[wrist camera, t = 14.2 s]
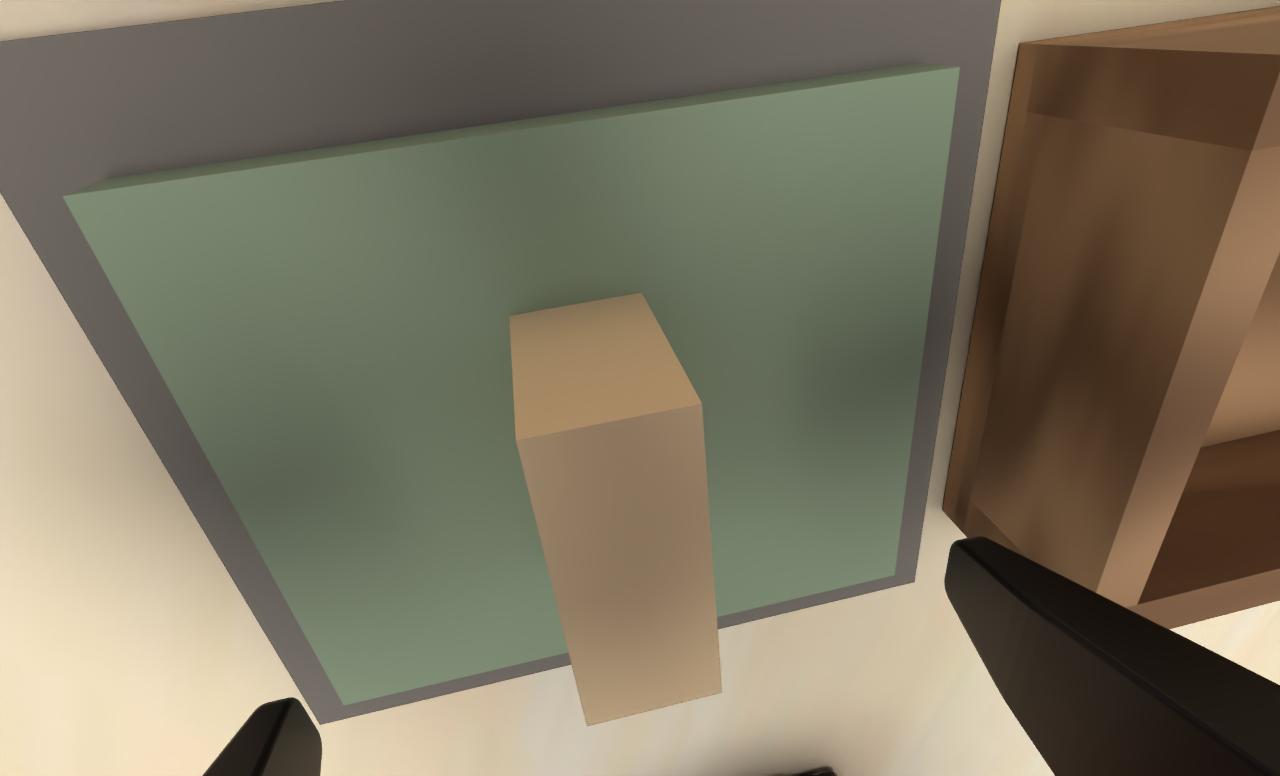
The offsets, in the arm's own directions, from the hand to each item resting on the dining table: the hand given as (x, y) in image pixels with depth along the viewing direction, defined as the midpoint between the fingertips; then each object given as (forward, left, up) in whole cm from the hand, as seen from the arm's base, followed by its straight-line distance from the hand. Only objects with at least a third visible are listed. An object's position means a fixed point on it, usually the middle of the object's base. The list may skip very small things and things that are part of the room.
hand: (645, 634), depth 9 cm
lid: (0, 0, -6) cm, 6 cm away
